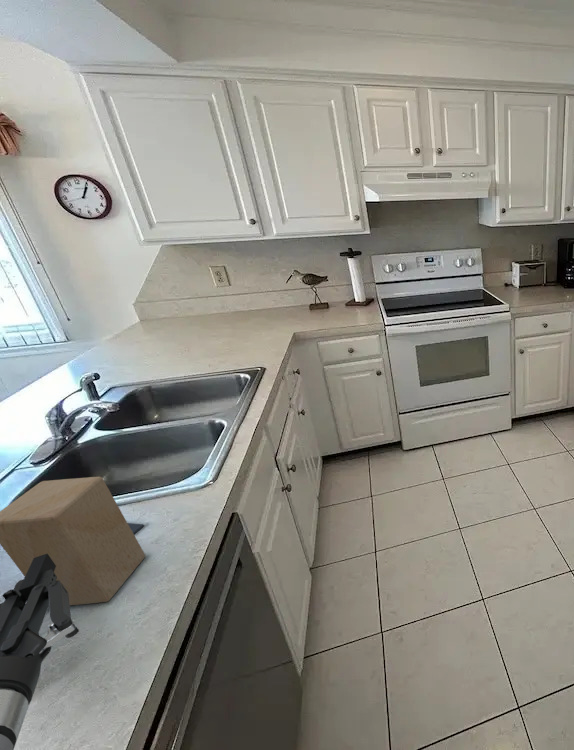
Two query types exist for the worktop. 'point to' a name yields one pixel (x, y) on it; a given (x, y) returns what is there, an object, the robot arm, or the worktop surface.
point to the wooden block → (73, 536)
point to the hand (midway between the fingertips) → (45, 562)
